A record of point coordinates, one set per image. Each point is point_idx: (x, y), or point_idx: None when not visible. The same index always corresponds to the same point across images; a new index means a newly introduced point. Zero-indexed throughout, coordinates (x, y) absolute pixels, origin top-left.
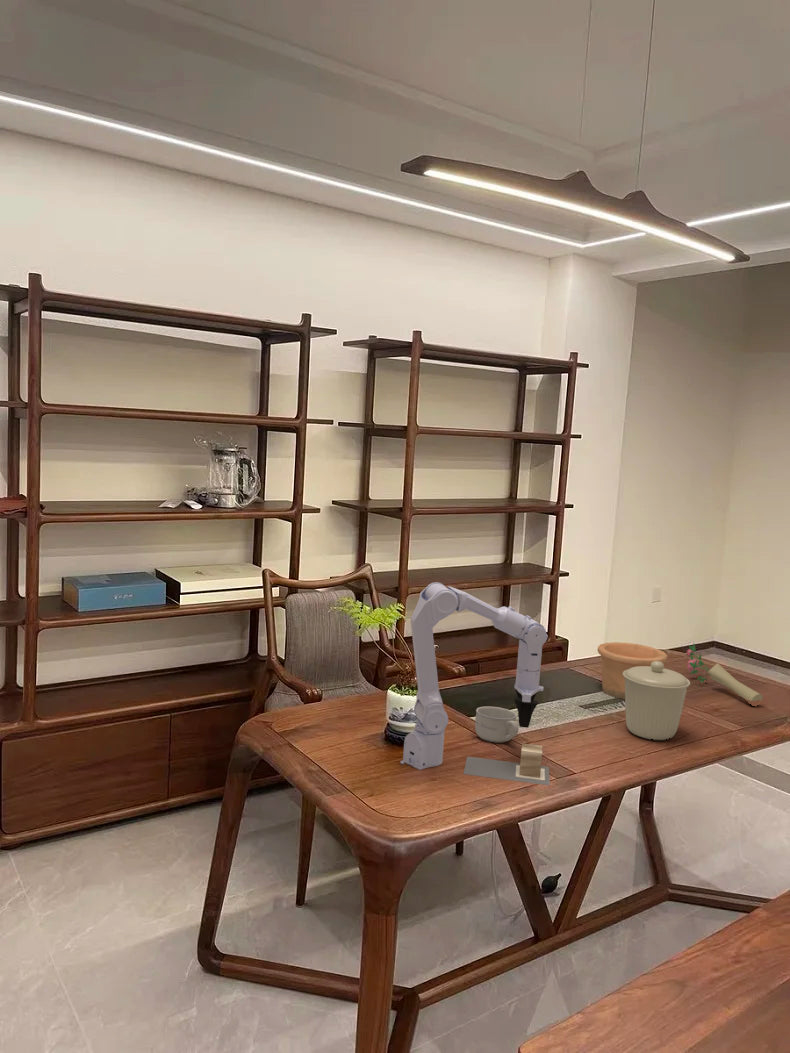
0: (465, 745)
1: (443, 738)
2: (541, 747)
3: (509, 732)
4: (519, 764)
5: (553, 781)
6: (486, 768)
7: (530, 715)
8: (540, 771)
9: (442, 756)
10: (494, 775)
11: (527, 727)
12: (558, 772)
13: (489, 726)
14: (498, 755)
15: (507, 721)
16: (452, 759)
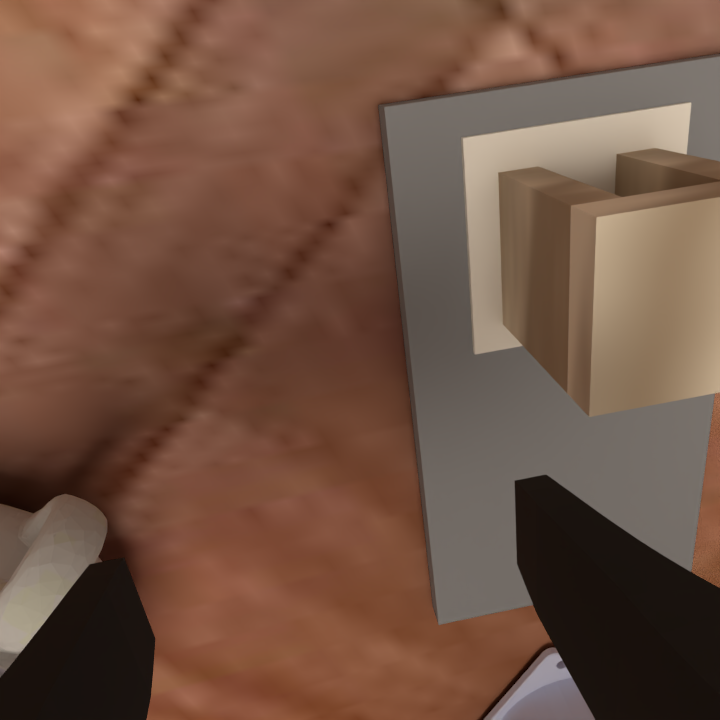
0: (207, 672)
1: None
2: (648, 215)
3: (14, 552)
4: (435, 336)
5: (577, 35)
6: (582, 497)
7: (700, 590)
8: (685, 155)
9: (592, 716)
10: (674, 434)
11: (554, 480)
12: (372, 10)
13: None
14: (260, 489)
15: (10, 655)
16: (451, 659)
